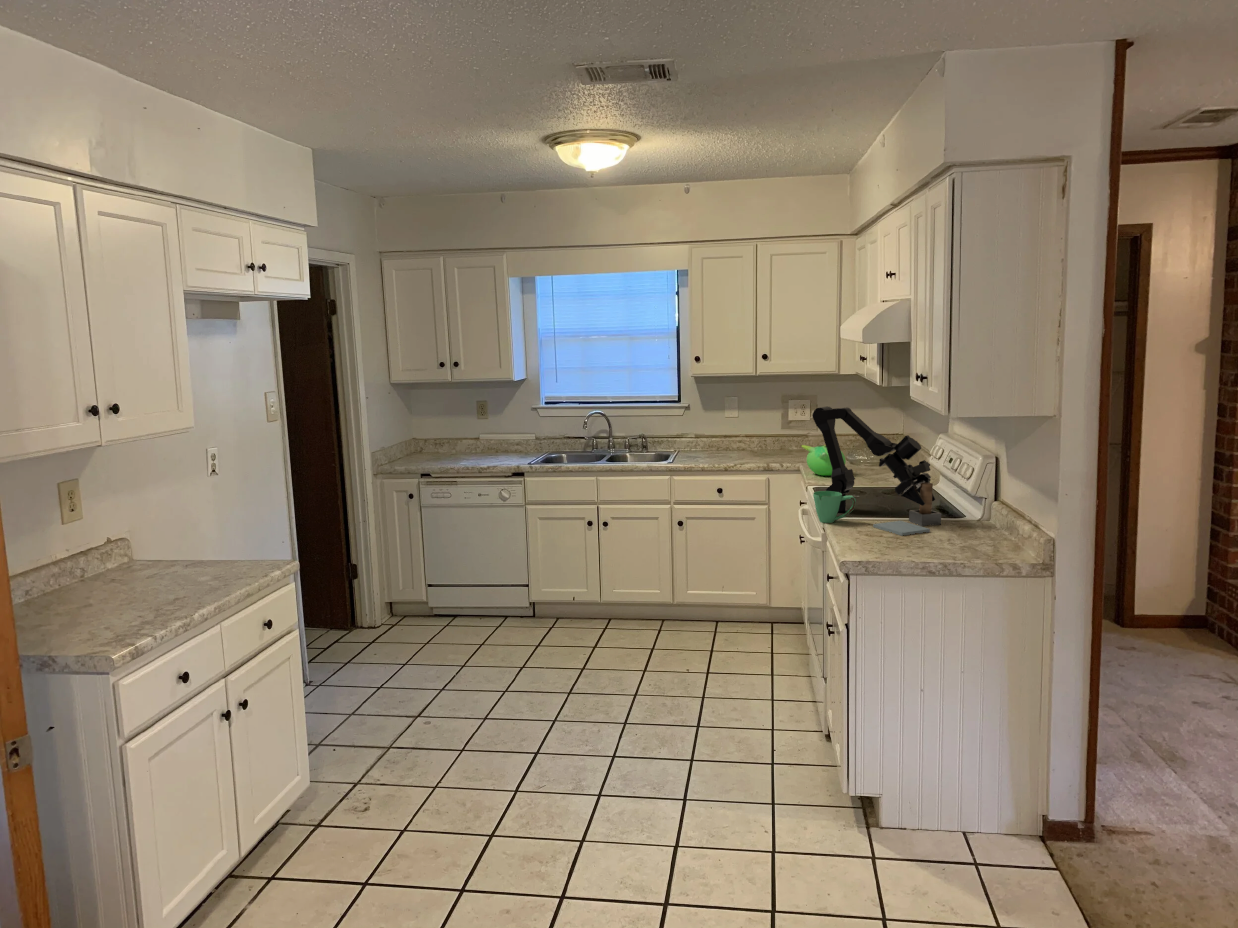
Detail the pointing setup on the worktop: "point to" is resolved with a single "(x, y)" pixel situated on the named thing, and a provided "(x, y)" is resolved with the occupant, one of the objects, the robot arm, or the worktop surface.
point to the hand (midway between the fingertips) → (929, 502)
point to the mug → (830, 505)
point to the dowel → (926, 498)
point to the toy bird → (819, 460)
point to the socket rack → (925, 518)
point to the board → (901, 528)
